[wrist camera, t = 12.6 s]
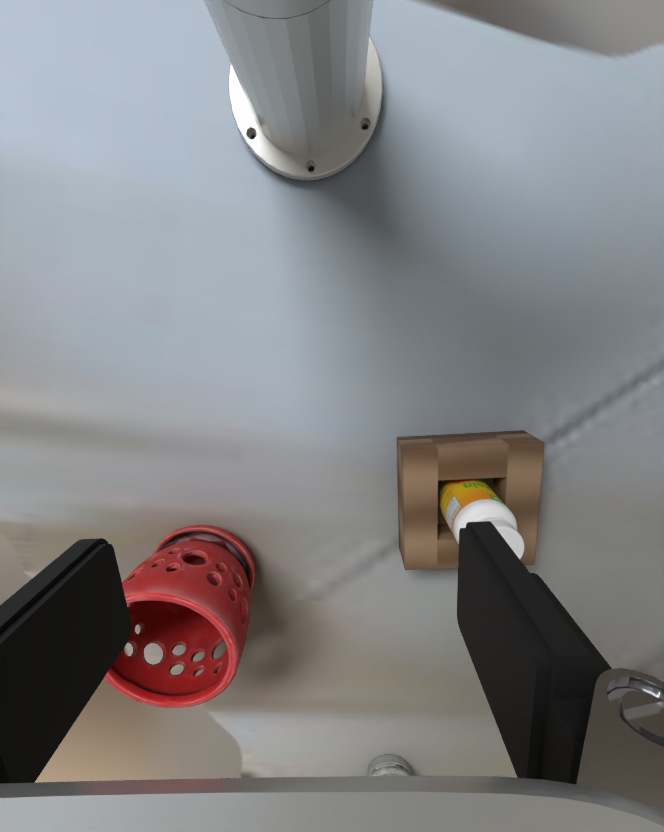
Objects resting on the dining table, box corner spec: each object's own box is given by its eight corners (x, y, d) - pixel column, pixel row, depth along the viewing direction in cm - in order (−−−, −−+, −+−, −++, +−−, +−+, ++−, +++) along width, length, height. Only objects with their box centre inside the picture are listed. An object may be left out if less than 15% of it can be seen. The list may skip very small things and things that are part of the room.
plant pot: (130, 550, 42) (51, 637, 31) (219, 494, 40) (171, 564, 29) (200, 629, 45) (151, 736, 33) (287, 580, 43) (268, 676, 31)
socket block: (396, 437, 38) (403, 450, 34) (523, 430, 38) (544, 442, 34) (399, 546, 42) (405, 569, 38) (515, 541, 41) (534, 564, 37)
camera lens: (417, 780, 51) (431, 861, 43) (373, 789, 51) (379, 871, 44) (404, 747, 49) (416, 825, 41) (359, 757, 50) (363, 836, 42)
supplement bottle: (494, 477, 38) (545, 528, 29) (476, 522, 39) (519, 585, 30) (444, 464, 38) (479, 512, 28) (428, 510, 39) (456, 569, 30)
